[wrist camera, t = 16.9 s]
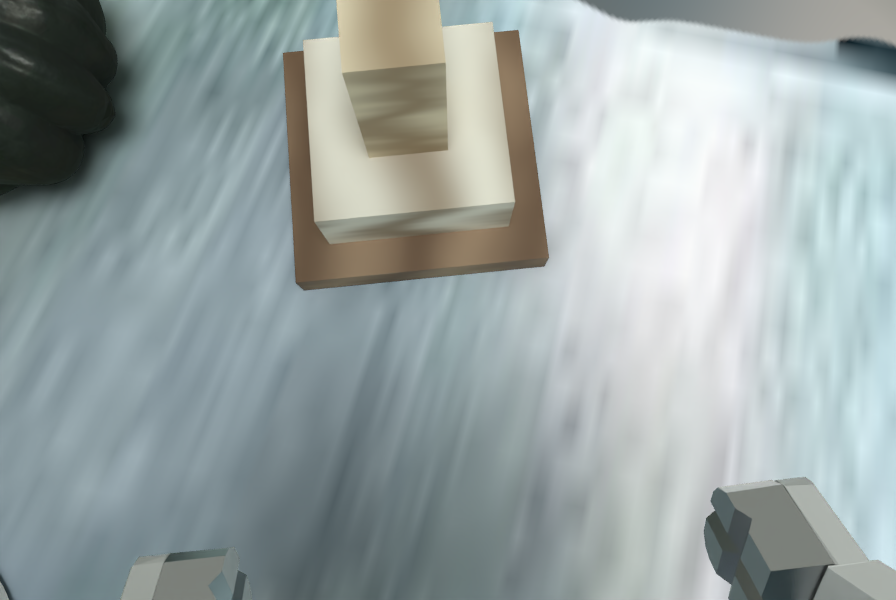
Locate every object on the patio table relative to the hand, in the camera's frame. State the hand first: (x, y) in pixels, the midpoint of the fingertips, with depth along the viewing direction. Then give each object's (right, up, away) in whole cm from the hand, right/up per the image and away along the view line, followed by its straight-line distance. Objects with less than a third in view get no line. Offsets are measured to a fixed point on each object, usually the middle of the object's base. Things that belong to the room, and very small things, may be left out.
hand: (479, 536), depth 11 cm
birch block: (-3, +13, +22) cm, 26 cm away
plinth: (-3, +12, +28) cm, 31 cm away
